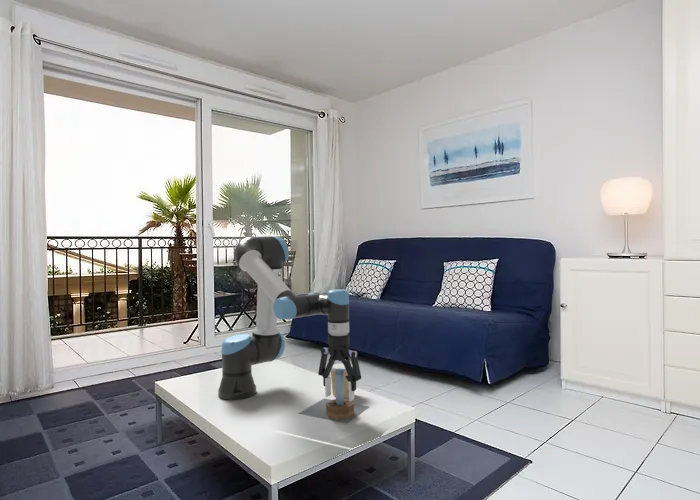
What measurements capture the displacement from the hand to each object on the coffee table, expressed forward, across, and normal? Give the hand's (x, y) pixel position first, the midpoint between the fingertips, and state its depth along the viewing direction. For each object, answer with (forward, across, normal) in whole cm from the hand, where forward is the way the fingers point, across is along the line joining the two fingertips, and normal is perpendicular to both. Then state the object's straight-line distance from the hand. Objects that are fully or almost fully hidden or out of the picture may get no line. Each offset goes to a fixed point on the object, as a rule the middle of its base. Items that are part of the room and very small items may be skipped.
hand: (339, 397), depth 154 cm
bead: (+6, 0, 0) cm, 6 cm away
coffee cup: (+7, -10, +19) cm, 23 cm away
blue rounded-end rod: (+6, 0, 0) cm, 6 cm away
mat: (+7, -4, +3) cm, 8 cm away
